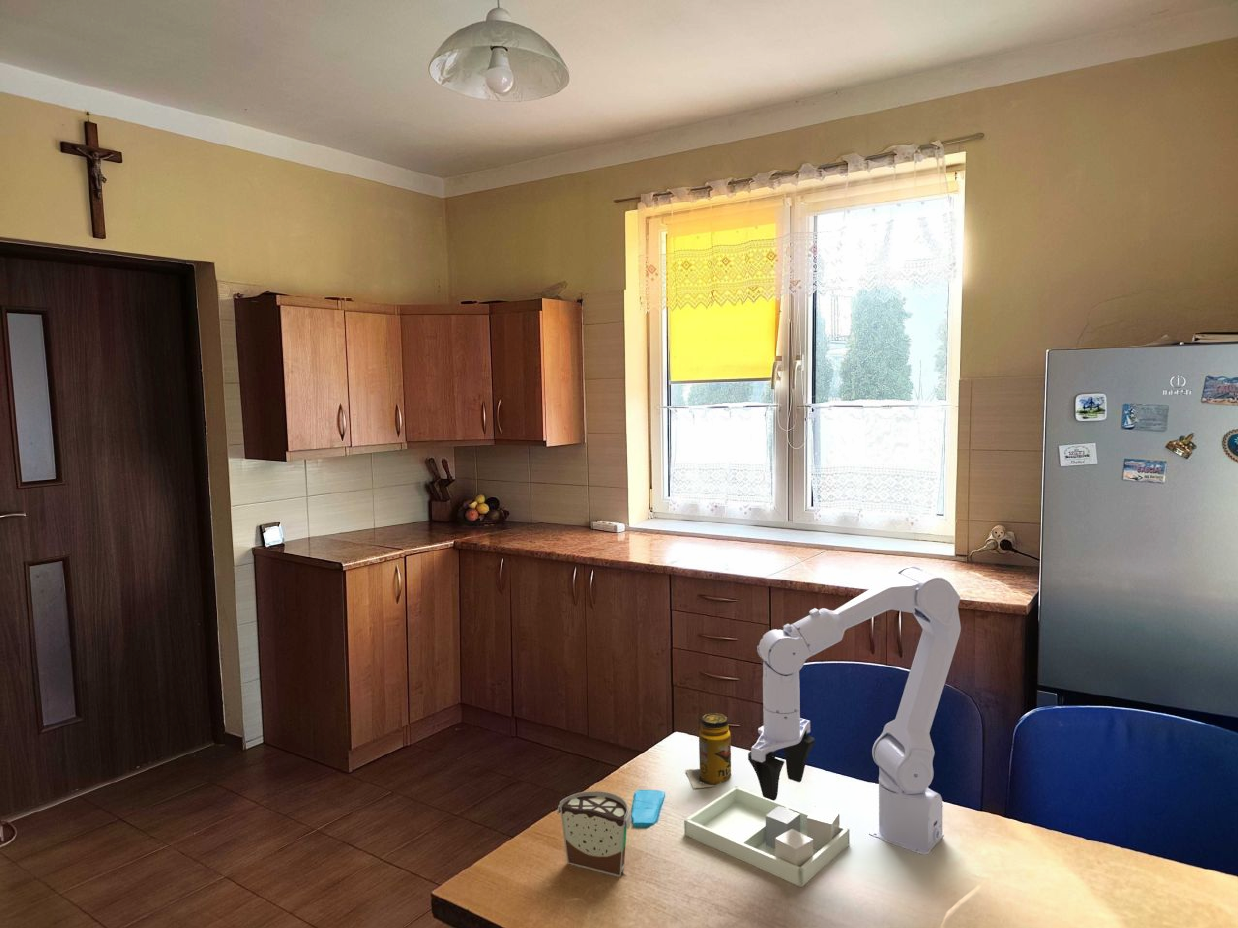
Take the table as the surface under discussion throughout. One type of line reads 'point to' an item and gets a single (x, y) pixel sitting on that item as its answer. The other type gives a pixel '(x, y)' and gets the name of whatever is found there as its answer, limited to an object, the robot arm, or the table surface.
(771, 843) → the grey rectangular block
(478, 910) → the table surface
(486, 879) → the table surface
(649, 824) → the sponge
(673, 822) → the table surface
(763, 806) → the tray
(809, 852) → the white block
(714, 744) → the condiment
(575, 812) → the food container
